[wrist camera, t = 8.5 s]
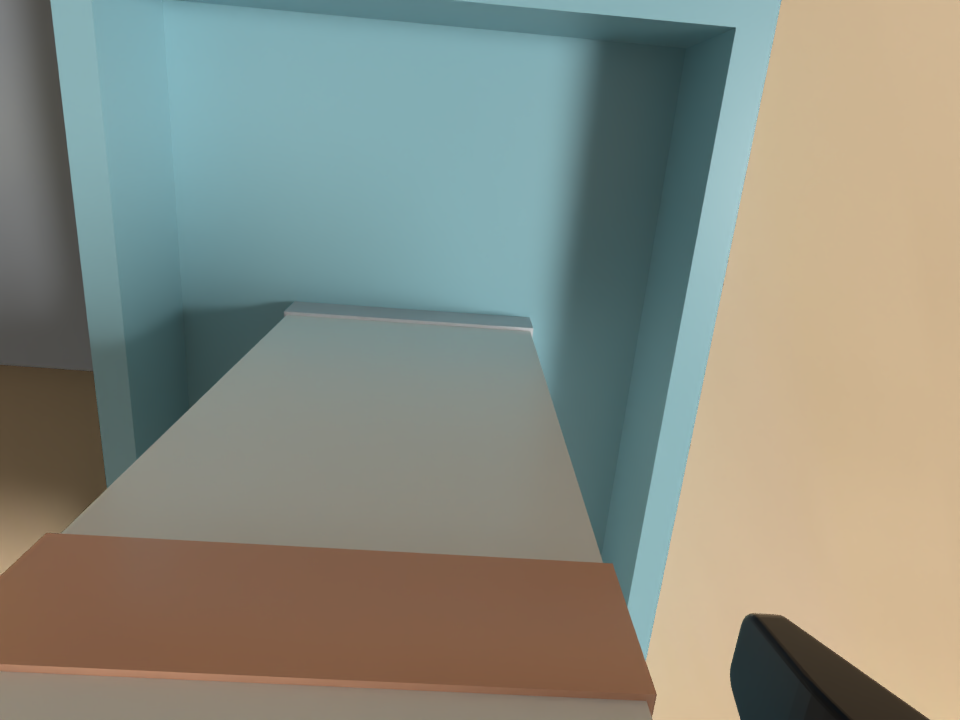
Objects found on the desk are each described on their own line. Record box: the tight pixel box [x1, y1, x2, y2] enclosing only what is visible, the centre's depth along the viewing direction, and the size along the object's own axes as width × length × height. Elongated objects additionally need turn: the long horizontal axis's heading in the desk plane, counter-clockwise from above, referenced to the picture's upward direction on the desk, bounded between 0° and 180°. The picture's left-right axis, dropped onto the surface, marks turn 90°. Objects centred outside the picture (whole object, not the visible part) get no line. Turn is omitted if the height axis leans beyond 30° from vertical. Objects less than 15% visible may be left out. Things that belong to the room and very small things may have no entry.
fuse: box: [0, 301, 657, 720], centre depth 8 cm, size 4×5×9 cm
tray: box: [50, 0, 781, 661], centre depth 11 cm, size 9×15×2 cm, turn 175°
